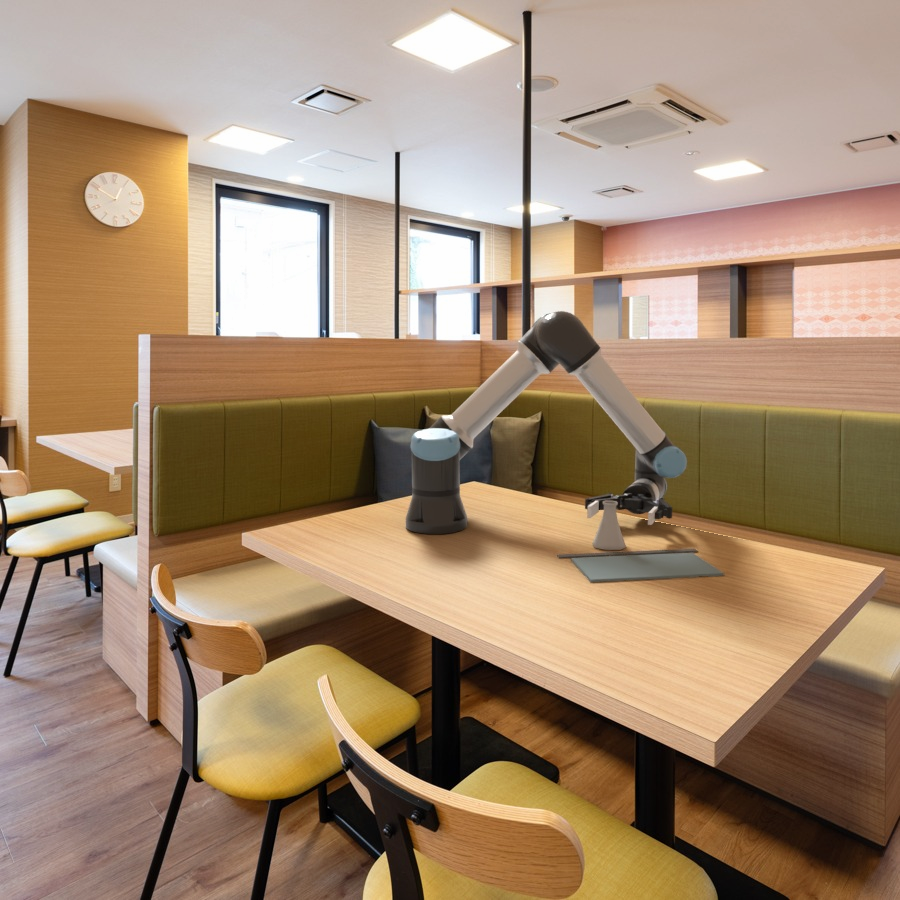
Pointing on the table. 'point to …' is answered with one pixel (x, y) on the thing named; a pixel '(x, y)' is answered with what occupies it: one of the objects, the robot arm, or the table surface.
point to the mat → (644, 567)
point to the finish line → (626, 553)
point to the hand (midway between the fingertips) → (618, 515)
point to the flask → (609, 529)
